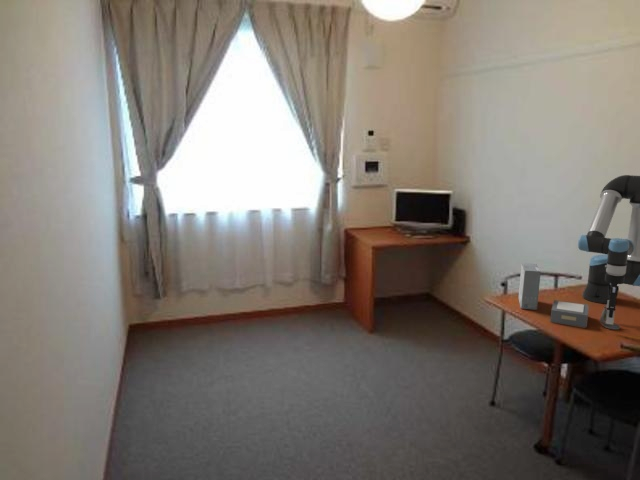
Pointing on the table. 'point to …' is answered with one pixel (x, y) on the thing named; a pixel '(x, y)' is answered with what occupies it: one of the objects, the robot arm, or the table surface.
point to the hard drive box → (529, 286)
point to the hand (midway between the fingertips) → (609, 319)
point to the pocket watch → (603, 320)
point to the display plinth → (569, 313)
